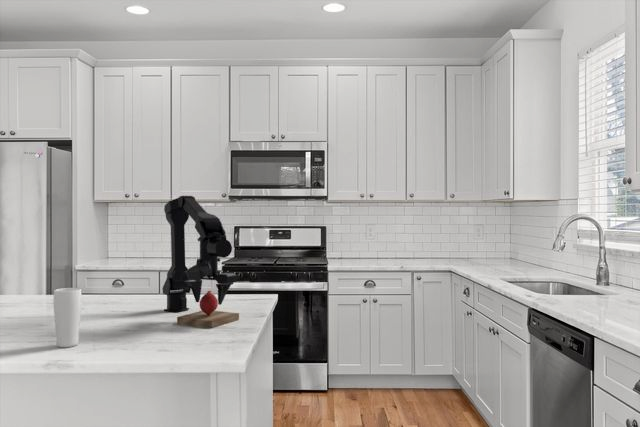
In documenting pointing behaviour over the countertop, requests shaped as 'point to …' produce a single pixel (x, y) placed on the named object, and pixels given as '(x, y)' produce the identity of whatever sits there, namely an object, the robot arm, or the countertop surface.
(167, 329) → the countertop surface
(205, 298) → the red round fruit
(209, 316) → the walnut block
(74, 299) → the drinking glass
